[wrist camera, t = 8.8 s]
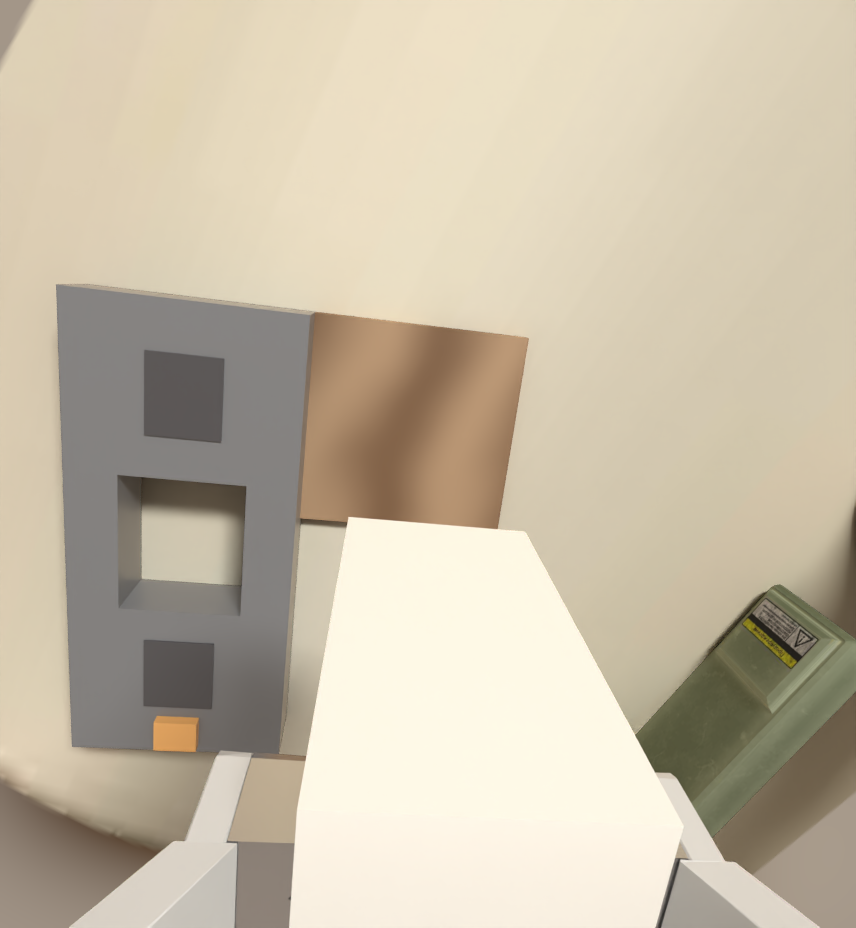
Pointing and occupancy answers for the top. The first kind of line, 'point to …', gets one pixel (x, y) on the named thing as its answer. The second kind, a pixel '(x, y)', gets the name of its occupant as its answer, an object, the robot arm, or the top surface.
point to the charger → (469, 751)
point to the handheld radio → (751, 704)
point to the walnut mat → (409, 422)
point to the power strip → (187, 459)
